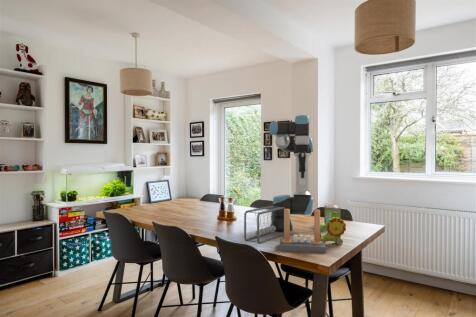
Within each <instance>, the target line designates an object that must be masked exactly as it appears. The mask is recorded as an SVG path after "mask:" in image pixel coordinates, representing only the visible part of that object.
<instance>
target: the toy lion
mask: <svg viewBox="0 0 476 317" xmlns="http://www.w3.org/2000/svg"><path fill="white" fill-rule="evenodd" d="M346 226H347V224H346V223H345V221H344V220H343V219H341V217H340V218H335V217H332V218H330V219H328V221H327V222H326V224H324V223H323V224H321V225H320V241H324V243H325V244H326V242H333V243H335V244H336V245H337V246H341V245H343V242H344V241H343V239H342V237H341V236H343V235H344V234H345V232H346V231H347V228H346ZM324 229H326V231H327V233H325V234H324V235H323V236H322V231H323V230H324Z"/></svg>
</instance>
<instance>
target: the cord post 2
mask: <svg viewBox="0 0 476 317" xmlns="http://www.w3.org/2000/svg"><path fill="white" fill-rule="evenodd" d="M313 211H314V212H313V213H314V214H313V218H314V219H313V222H314V223H313V224H314V225H313V226H314V227H313V228H314V232H313V233H314V235H313V236H314V237H313V241H312V244H315V245H321V244H322V241H320V226H321V210H320V209H314V210H313Z"/></svg>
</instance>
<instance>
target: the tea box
mask: <svg viewBox="0 0 476 317" xmlns="http://www.w3.org/2000/svg"><path fill="white" fill-rule="evenodd" d="M332 217H335V218H340V219H341V207H340V205H338V204H324V217H323V218H324V221H323V225H324V224H326V222H327V221H328V219H330V218H332Z"/></svg>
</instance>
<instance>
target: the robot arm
mask: <svg viewBox="0 0 476 317" xmlns="http://www.w3.org/2000/svg"><path fill="white" fill-rule="evenodd" d="M269 134H270V135H271V136H274V137H275V139H274V143H275V145H276V147H277V148H278V149H280V150H281V151H284V152H287V153H293V156H294V157H295V192H294V193H293V196H291V194H280V195H275V196H274V197H272V206H274V207H273V209H274V208H277V207H285V209H290V215H293V216H294V215H295V216H296V215H299V216H309V215H311V214H312V212H313V206H314V197H313V196H312V193H310V187H309V186H310V184H309V183H310V182H309V180H310V178H309V176H310V172H309V170H310V169H309V168H310V167H309V157H310V156H311V155H312V153H313V152H314V146H313V141H312V140H313V139H312V136H311V135H310V117H309V115H302V114H301V115H296V116H295V118H294V121H271V122H270V123H269ZM274 217H275V219H274ZM273 224H274V226H275V227H276V230H275V231H274V232H276V233H283V232H284V209H280V210H276V212H275V211H273ZM269 226H270V227H271V224H269ZM293 228H294V226H293V223H292V221H291V218H290V232H292V231H293V230H294V229H293Z"/></svg>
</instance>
